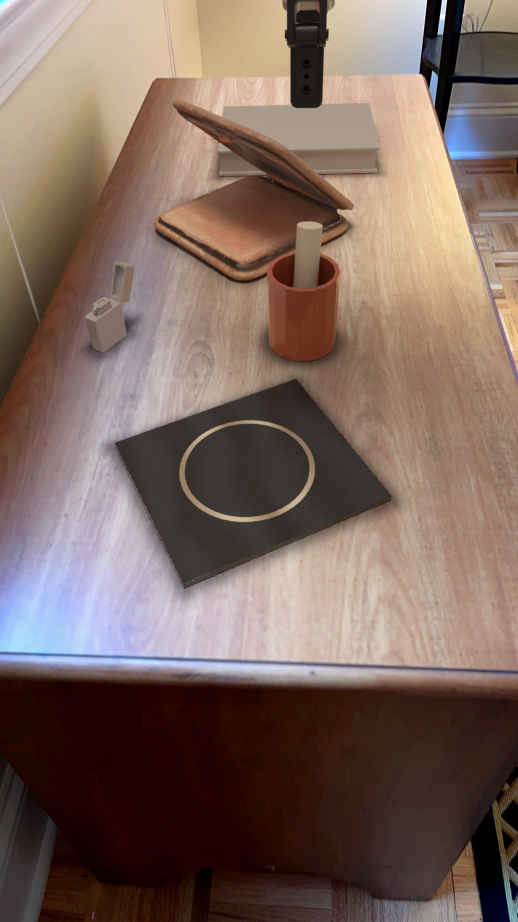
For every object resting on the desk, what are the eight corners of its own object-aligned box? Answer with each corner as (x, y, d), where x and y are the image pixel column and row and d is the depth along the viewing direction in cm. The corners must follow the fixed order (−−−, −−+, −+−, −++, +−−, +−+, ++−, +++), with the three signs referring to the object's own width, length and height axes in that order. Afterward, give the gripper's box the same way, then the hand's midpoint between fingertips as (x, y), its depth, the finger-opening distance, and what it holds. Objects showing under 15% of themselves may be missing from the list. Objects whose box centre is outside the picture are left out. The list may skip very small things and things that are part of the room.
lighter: (103, 353, 77) (88, 292, 71) (92, 348, 78) (76, 287, 72) (144, 321, 81) (133, 260, 75) (133, 316, 82) (121, 256, 76)
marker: (306, 327, 78) (314, 220, 71) (317, 336, 76) (327, 227, 70) (286, 331, 77) (292, 222, 70) (297, 340, 75) (304, 230, 69)
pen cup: (314, 313, 81) (317, 244, 74) (347, 348, 76) (353, 278, 70) (258, 332, 79) (255, 262, 72) (288, 369, 74) (288, 298, 68)
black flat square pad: (296, 382, 73) (296, 377, 72) (391, 500, 62) (392, 495, 61) (115, 446, 67) (114, 441, 67) (184, 588, 56) (183, 583, 56)
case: (360, 228, 94) (371, 103, 82) (243, 289, 85) (236, 159, 73) (260, 178, 104) (257, 62, 92) (147, 228, 95) (127, 106, 83)
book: (379, 147, 101) (217, 150, 102) (377, 173, 104) (219, 176, 105) (368, 99, 114) (224, 103, 115) (367, 123, 117) (225, 127, 117)
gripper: (386, -222, 34) (362, 123, 46) (375, -237, 43) (357, 51, 55) (234, -215, 34) (249, 123, 46) (256, -232, 44) (263, 52, 56)
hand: (307, 83), depth 51 cm, fingers open, 8 cm apart
